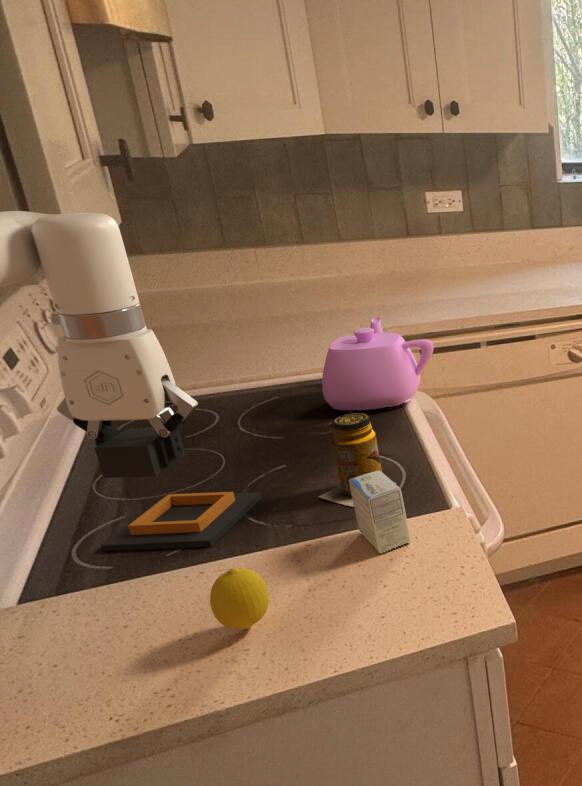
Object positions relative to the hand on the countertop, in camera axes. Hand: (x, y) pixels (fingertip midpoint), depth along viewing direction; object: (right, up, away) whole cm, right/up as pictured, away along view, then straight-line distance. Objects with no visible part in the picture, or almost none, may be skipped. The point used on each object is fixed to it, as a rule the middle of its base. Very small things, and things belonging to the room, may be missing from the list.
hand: (144, 462), depth 97 cm
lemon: (+17, -19, -6) cm, 26 cm away
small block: (0, -1, 0) cm, 1 cm away
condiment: (+14, -7, +26) cm, 30 cm away
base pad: (-6, -10, +16) cm, 20 cm away
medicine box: (+24, -12, +12) cm, 30 cm away
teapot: (-1, +7, +63) cm, 63 cm away
